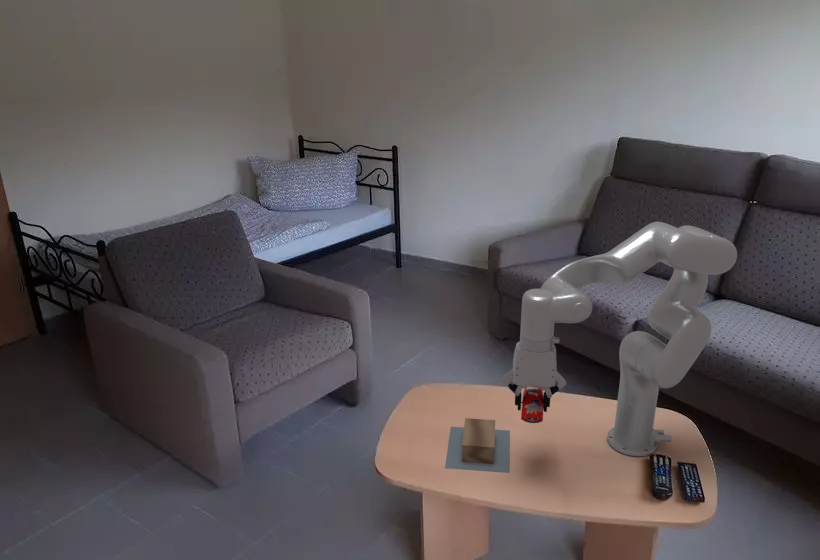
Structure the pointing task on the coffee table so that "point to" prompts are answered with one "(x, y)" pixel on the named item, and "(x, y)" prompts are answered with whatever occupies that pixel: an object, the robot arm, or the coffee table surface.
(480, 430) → the walnut block
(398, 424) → the coffee table surface
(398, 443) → the coffee table surface
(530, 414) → the race car
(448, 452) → the base plate
